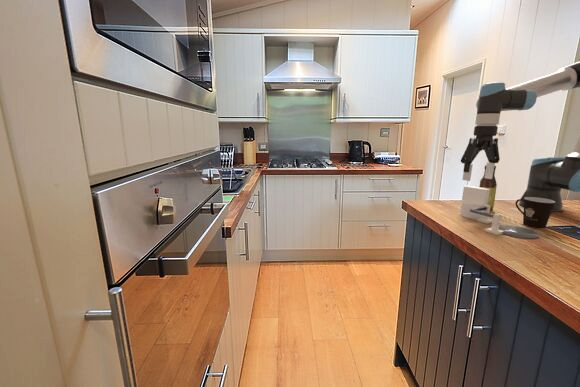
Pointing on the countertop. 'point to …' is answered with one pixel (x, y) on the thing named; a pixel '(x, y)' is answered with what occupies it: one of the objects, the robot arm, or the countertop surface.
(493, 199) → the sauce bottle
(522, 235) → the coaster
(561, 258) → the countertop surface
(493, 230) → the wire posts
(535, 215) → the coffee mug
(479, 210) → the bent wire
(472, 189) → the base with upright slab
